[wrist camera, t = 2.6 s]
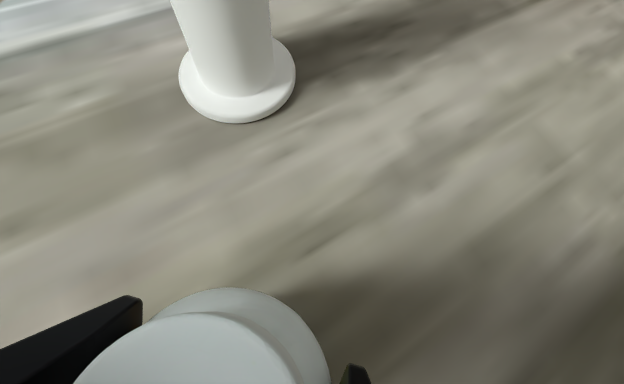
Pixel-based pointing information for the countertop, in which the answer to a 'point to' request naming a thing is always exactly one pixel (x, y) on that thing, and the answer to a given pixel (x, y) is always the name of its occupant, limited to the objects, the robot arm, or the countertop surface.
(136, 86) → the countertop surface
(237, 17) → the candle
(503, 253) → the countertop surface
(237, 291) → the supplement bottle
